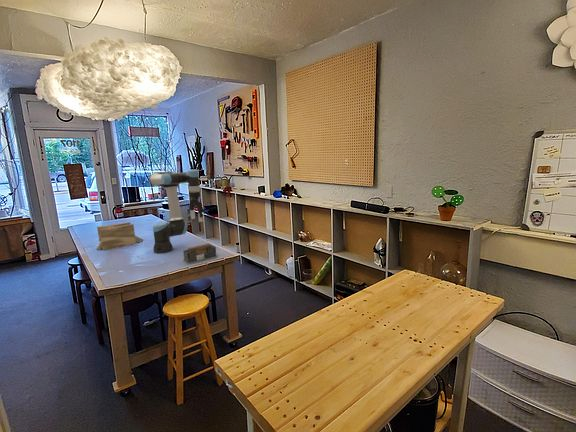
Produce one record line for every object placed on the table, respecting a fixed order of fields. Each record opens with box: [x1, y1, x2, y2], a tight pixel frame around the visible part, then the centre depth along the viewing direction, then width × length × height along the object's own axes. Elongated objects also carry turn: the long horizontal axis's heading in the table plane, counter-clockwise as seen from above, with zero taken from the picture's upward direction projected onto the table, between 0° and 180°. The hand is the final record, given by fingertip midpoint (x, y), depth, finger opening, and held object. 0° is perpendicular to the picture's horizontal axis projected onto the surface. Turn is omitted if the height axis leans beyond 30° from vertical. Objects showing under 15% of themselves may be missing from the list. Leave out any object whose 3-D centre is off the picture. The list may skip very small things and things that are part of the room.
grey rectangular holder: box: [182, 244, 218, 265], centre depth 231 cm, size 10×23×8 cm, turn 130°
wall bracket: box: [96, 224, 144, 251], centre depth 273 cm, size 22×4×30 cm
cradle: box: [96, 221, 137, 251], centre depth 272 cm, size 14×26×18 cm, turn 130°
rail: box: [186, 243, 212, 256], centre depth 230 cm, size 4×17×6 cm, turn 130°
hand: (197, 220), depth 226 cm, fingers open, 13 cm apart
